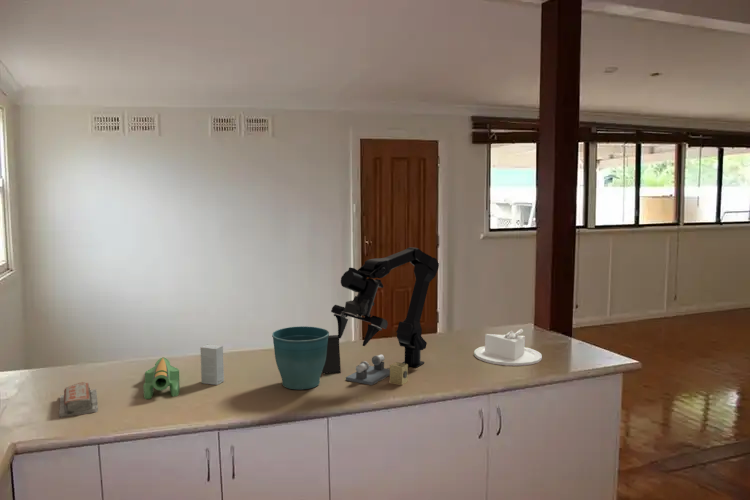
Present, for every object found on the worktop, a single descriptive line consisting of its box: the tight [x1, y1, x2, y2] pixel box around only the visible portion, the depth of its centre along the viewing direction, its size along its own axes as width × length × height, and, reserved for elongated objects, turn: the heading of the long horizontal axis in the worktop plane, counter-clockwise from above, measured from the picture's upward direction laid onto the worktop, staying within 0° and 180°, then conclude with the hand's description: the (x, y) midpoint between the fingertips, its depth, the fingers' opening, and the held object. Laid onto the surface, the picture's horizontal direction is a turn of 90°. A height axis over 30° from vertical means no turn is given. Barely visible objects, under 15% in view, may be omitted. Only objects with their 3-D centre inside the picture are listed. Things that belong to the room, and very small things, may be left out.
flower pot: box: [271, 325, 330, 391], centre depth 197 cm, size 18×18×17 cm
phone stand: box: [322, 334, 342, 375], centre depth 213 cm, size 9×6×12 cm, turn 12°
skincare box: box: [199, 344, 225, 386], centre depth 199 cm, size 6×4×12 cm
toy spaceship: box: [143, 357, 181, 400], centre depth 200 cm, size 32×10×7 cm, turn 18°
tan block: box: [389, 361, 409, 386], centre depth 200 cm, size 5×4×6 cm
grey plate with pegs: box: [345, 354, 390, 386], centre depth 206 cm, size 15×10×6 cm, turn 150°
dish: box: [473, 328, 542, 367], centre depth 231 cm, size 25×25×11 cm
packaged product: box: [58, 381, 99, 418], centre depth 180 cm, size 18×5×10 cm
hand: (351, 342), depth 200 cm, fingers open, 9 cm apart
